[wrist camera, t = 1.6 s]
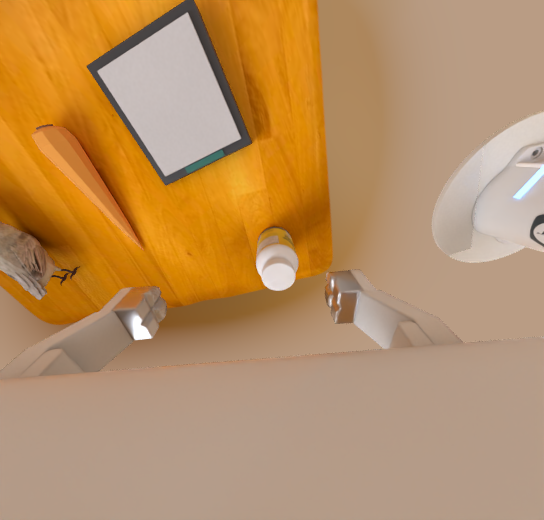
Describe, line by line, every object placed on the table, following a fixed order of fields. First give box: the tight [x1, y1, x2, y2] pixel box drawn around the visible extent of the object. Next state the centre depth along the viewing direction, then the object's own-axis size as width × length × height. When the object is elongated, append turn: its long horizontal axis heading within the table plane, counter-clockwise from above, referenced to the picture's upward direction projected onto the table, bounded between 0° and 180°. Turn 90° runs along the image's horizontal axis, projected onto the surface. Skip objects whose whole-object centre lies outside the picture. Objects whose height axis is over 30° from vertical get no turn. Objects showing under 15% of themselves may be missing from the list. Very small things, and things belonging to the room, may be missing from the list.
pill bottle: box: [256, 227, 298, 291], centre depth 32 cm, size 6×6×12 cm
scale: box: [87, 0, 252, 185], centre depth 26 cm, size 14×14×3 cm
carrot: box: [32, 124, 144, 250], centre depth 31 cm, size 20×4×4 cm, turn 16°
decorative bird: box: [0, 221, 79, 300], centre depth 32 cm, size 5×16×8 cm, turn 28°
